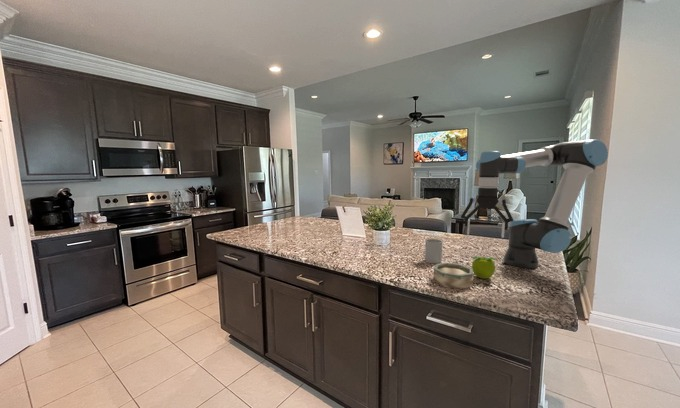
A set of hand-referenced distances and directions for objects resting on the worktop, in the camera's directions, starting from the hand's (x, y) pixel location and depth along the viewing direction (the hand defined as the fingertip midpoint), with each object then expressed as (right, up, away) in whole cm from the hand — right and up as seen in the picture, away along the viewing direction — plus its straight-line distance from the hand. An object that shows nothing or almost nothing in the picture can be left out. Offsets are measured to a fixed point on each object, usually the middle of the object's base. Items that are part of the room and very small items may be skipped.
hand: (485, 235), depth 126 cm
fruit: (0, -19, +2) cm, 20 cm away
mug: (-13, -16, +27) cm, 35 cm away
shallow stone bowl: (-15, -20, -2) cm, 25 cm away
